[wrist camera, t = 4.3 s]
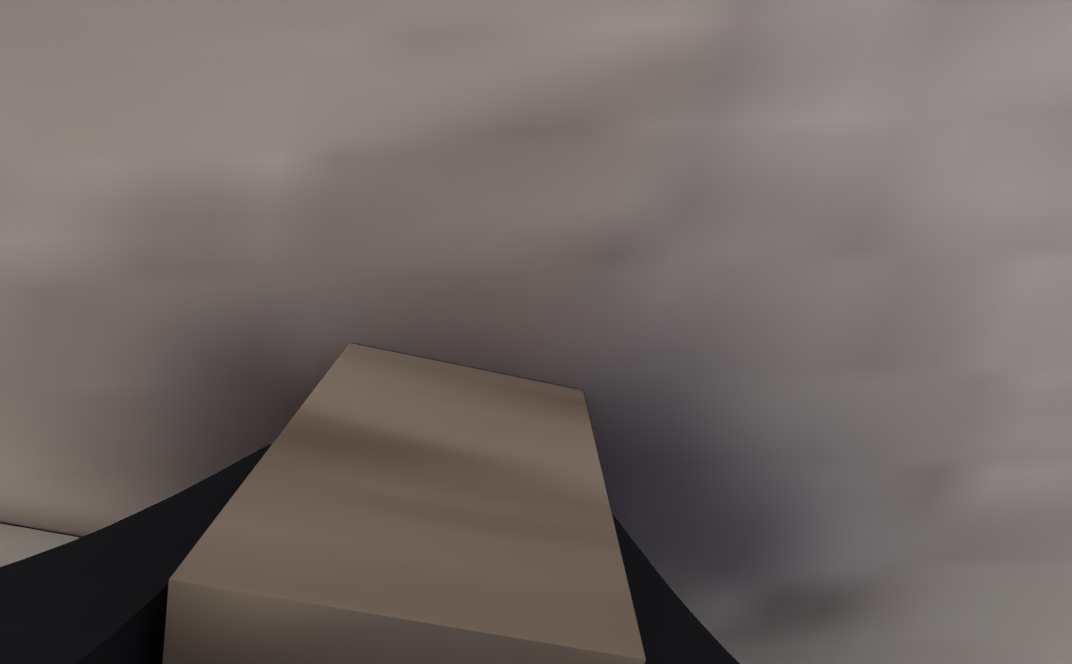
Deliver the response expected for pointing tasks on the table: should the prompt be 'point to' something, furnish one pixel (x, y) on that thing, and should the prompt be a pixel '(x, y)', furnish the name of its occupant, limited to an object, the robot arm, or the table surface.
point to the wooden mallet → (413, 531)
